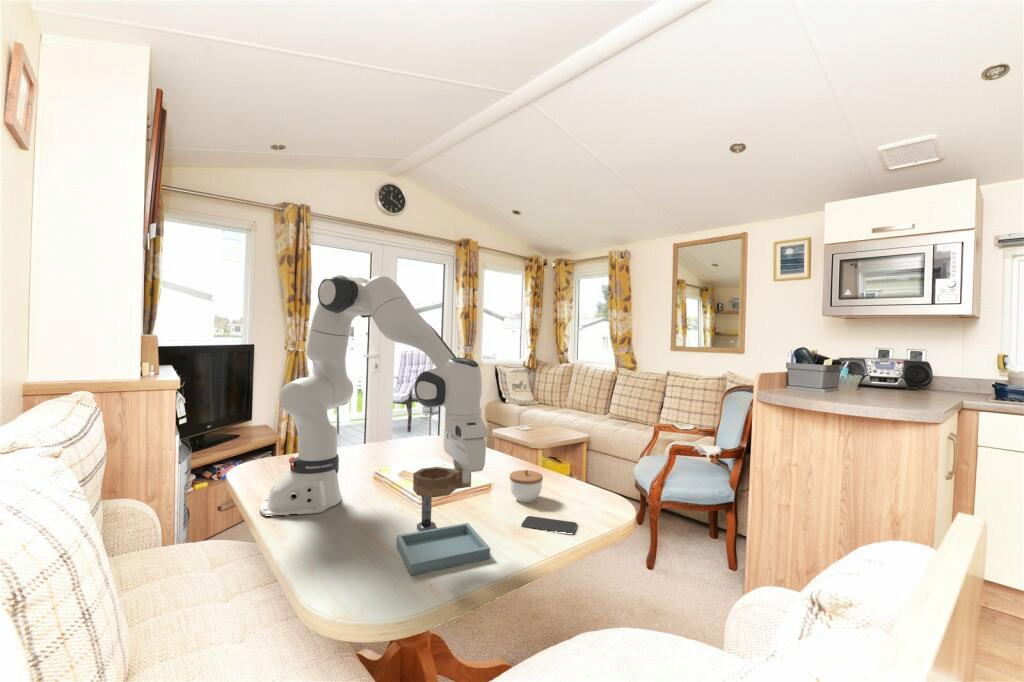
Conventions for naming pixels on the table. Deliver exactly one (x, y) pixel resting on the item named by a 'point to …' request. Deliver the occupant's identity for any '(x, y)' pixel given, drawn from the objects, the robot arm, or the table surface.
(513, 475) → the lidded jar
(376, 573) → the table surface
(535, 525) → the smartphone
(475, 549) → the tray
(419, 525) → the stake
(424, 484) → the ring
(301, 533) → the table surface
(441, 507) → the table surface
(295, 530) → the table surface
